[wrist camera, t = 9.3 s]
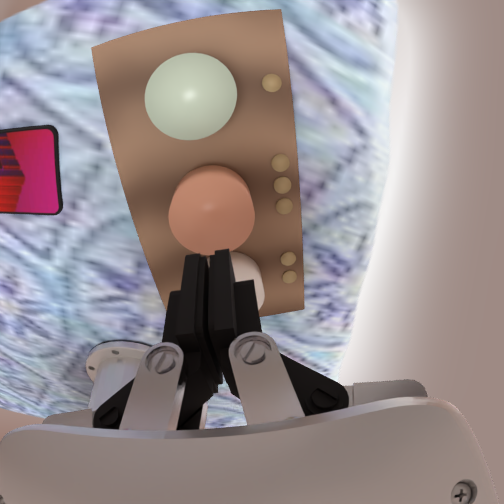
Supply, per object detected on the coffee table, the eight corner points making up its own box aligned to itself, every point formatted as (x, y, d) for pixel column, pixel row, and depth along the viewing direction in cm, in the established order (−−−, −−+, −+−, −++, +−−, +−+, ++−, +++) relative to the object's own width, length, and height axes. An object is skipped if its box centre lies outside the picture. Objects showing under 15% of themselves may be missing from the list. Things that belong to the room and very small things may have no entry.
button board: (299, 294, 29) (304, 310, 27) (175, 314, 29) (173, 330, 27) (275, 15, 16) (281, 8, 14) (101, 49, 16) (90, 47, 14)
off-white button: (263, 296, 26) (267, 316, 24) (204, 305, 26) (204, 326, 24) (256, 246, 23) (260, 265, 21) (190, 257, 23) (188, 276, 21)
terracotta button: (255, 229, 21) (259, 248, 19) (183, 241, 21) (179, 261, 19) (245, 159, 18) (249, 170, 16) (165, 173, 18) (159, 187, 16)
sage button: (239, 125, 18) (242, 132, 16) (161, 139, 18) (154, 148, 16) (228, 49, 15) (230, 45, 13) (147, 65, 15) (137, 64, 13)
